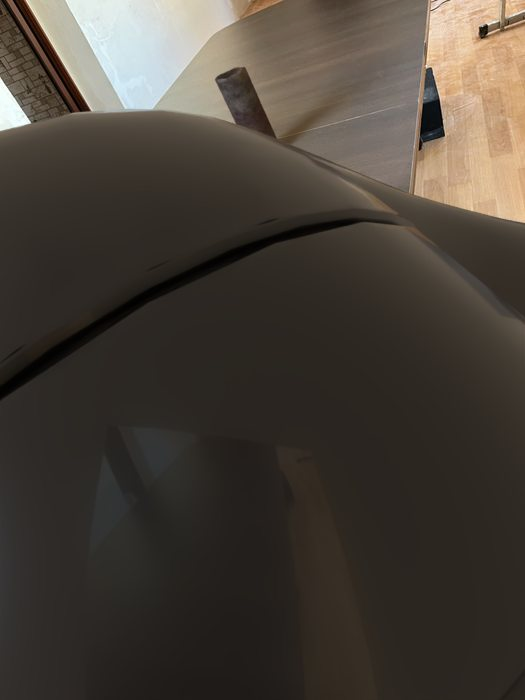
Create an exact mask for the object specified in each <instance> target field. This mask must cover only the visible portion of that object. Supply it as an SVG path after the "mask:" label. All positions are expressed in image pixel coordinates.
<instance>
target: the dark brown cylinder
mask: <svg viewBox="0 0 525 700" xmlns="http://www.w3.org/2000/svg"><path fill="white" fill-rule="evenodd" d="M214 81H215V84H216V85H217V87H218V90H219V91H220V94H221V96H222V98H223V100H224V103H225V105H226V106H227V108H228V110H229V112H230V114H231V117H232V118H233V121H234V124H238V125H241V126H244V127H247V128H250V129H253V130H256V131H258V132H261V133H263V134H266V135H268V136H271V137H274V138H276V139H278V138H277V136H276V133H275V131H274V129H273V126H272V124H271V121H270V120H269V117H268V115H267V112H266V111H265V109H264V107H263V104H262V102H261V99H260V97H259V95H258V93H257V90H256V88H255V86H254V84H253V82H252V79H251V77H250V74H249V72H248V70H247V68H246V66H235V67H232V68H230V69H229V70H227V71H225V72H222V73H220V74H219V75H217V76H216V77H215V78H214Z"/></svg>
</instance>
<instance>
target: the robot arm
mask: <svg viewBox="0 0 525 700" xmlns="http://www.w3.org/2000/svg"><path fill="white" fill-rule="evenodd" d="M0 700H525V222H522V221H517V220H512V219H507V218H503V217H502V218H501V217H497V216H494V215H490V214H486V213H482V212H478V211H475V210H470V209H465V208H462V207H458V206H456V205H451V204H447V203H444V202H439V201H436V200H433V199H430V198H426V197H423V196H420V195H416V194H414V193H410V192H407V191H404V190H402V189H400V188H397V187H395V186H392V185H389V184H387V183H384V182H382V181H379V180H377V179H375V178H373V177H370V176H367V175H365V174H363V173H360V172H358V171H356V170H353V169H351V168H349V167H345V165H344V166H343V165H341V164H339V163H336V162H334V161H331V160H329V159H327V158H324V157H322V156H319V155H317V154H314V153H312V152H310V151H307V150H304V149H302V148H301V147H300V148H299V147H298V146H295V145H293V144H290V143H288V142H286V141H283V140H281V139H279V138H277V139H276V138H274V137H271V136H268V135H266V134H263V133H261V132H258V131H256V130H253V129H250V128H247V127H244V126H241V125H238V124H236V123H235V122H231V121H228V120H224V119H220V118H217V117H214V116H210V115H205V114H199V113H192V112H185V111H180V110H174V109H173V110H172V109H171V110H170V109H159V108H158V109H157V108H156V109H155V108H154V109H153V108H151V109H149V108H148V109H147V108H119V109H105V110H91V111H78V112H77V111H75V112H70V113H66V114H63V115H59V116H54V117H50V118H46V119H42V120H38V121H36V122H31V123H27V124H26V123H25V124H22V125H18V126H14V127H10V128H7V129H2V130H0Z"/></svg>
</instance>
